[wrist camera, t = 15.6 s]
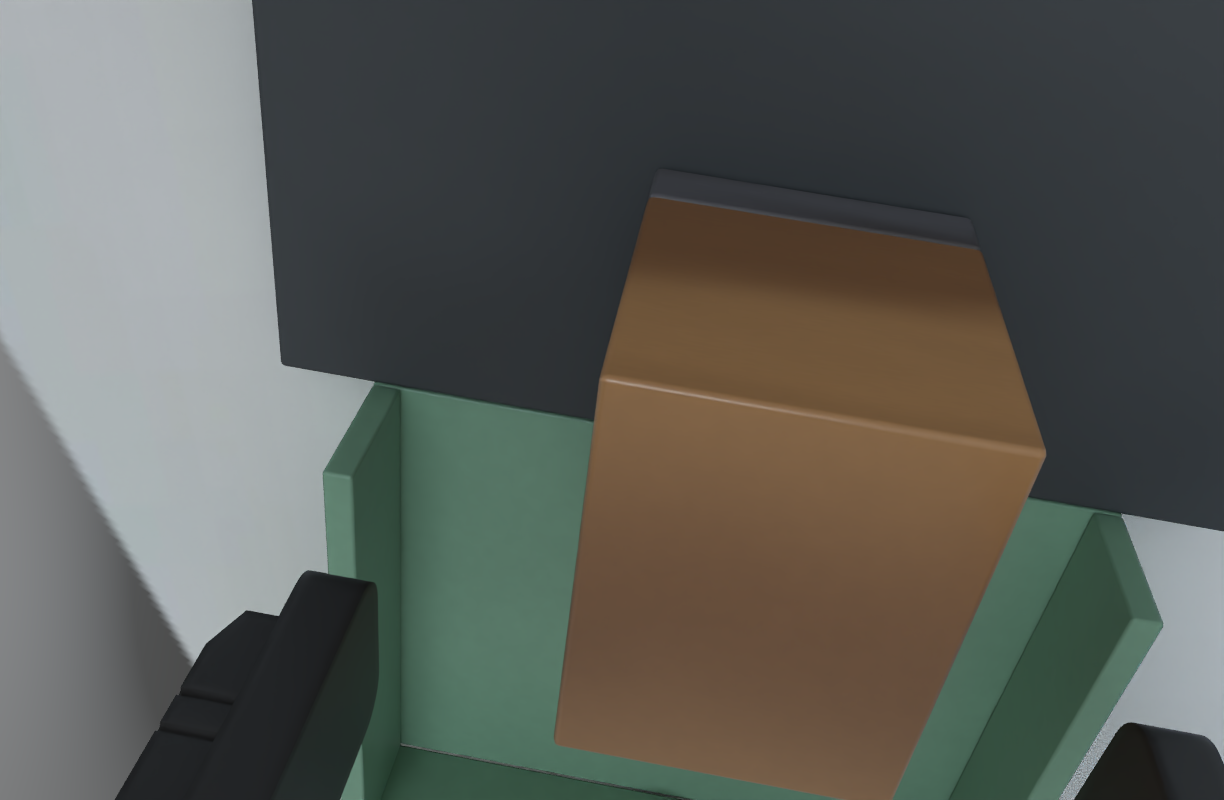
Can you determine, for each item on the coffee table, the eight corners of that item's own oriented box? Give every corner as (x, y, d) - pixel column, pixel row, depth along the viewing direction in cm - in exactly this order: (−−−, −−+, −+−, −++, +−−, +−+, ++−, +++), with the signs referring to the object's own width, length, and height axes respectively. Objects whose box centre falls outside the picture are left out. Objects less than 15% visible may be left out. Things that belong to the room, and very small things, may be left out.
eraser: (656, 164, 15) (598, 375, 11) (973, 216, 15) (1051, 454, 10) (609, 486, 19) (552, 747, 14) (866, 531, 18) (890, 811, 14)
